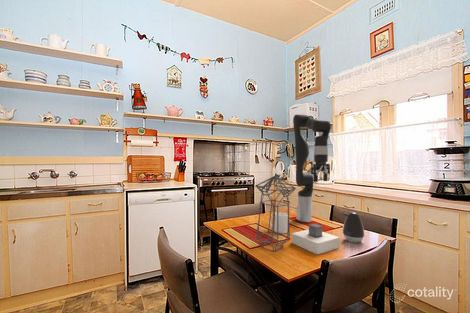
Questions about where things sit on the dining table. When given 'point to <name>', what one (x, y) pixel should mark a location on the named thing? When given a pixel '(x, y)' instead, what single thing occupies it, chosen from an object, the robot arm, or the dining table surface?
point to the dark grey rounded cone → (353, 228)
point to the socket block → (315, 242)
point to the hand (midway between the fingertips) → (320, 181)
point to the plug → (315, 230)
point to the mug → (280, 222)
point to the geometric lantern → (274, 209)
